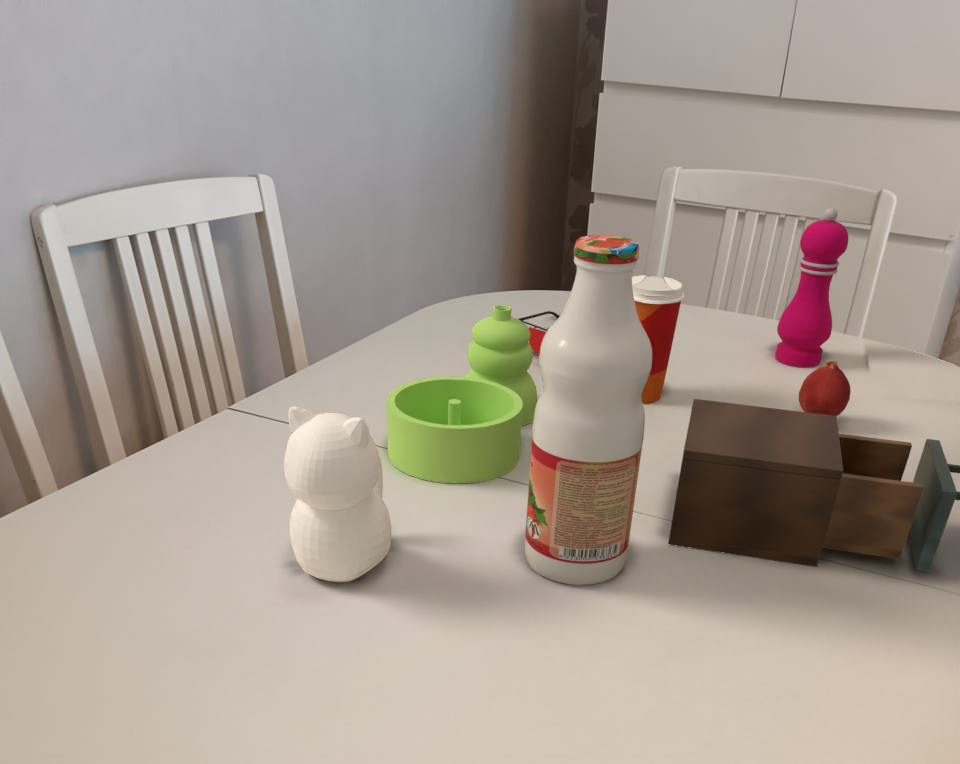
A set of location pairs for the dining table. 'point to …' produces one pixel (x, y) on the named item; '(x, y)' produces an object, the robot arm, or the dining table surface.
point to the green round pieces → (467, 409)
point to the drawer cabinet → (757, 482)
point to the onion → (825, 391)
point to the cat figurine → (335, 496)
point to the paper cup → (657, 325)
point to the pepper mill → (812, 294)
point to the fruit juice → (589, 421)
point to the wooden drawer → (891, 500)
